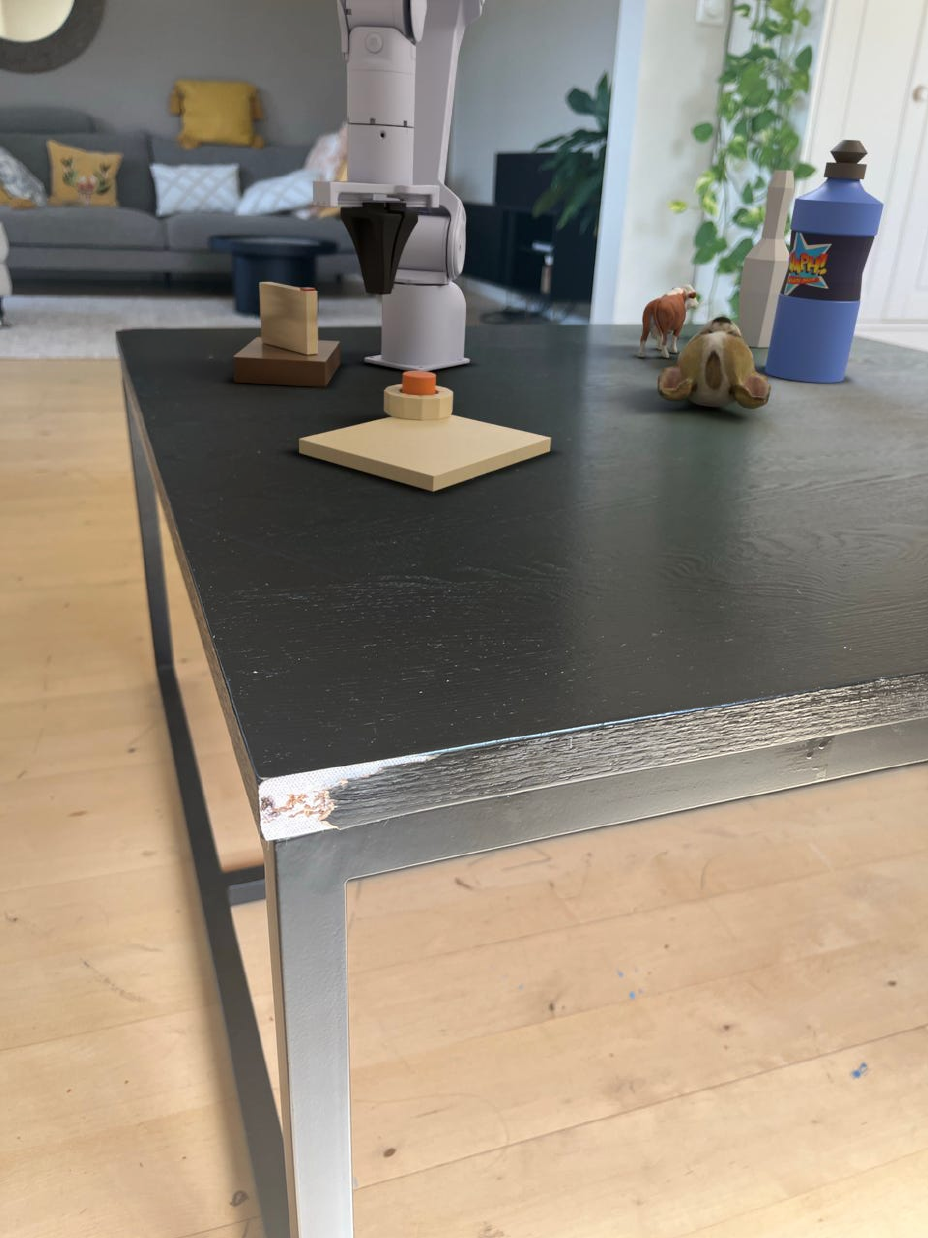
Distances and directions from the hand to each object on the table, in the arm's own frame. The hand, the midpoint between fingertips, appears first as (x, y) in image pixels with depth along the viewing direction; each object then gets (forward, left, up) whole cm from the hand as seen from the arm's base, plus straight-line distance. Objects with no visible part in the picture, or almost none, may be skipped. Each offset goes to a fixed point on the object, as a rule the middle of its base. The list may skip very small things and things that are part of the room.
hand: (378, 293), depth 87 cm
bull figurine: (-47, +7, -10) cm, 48 cm away
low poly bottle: (-65, +12, -10) cm, 67 cm away
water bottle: (-48, +25, -10) cm, 55 cm away
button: (+6, +10, -7) cm, 13 cm away
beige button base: (+11, +15, -9) cm, 21 cm away
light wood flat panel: (-1, -13, -7) cm, 15 cm away
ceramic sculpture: (-23, +24, -10) cm, 35 cm away
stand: (-1, -13, -9) cm, 16 cm away
